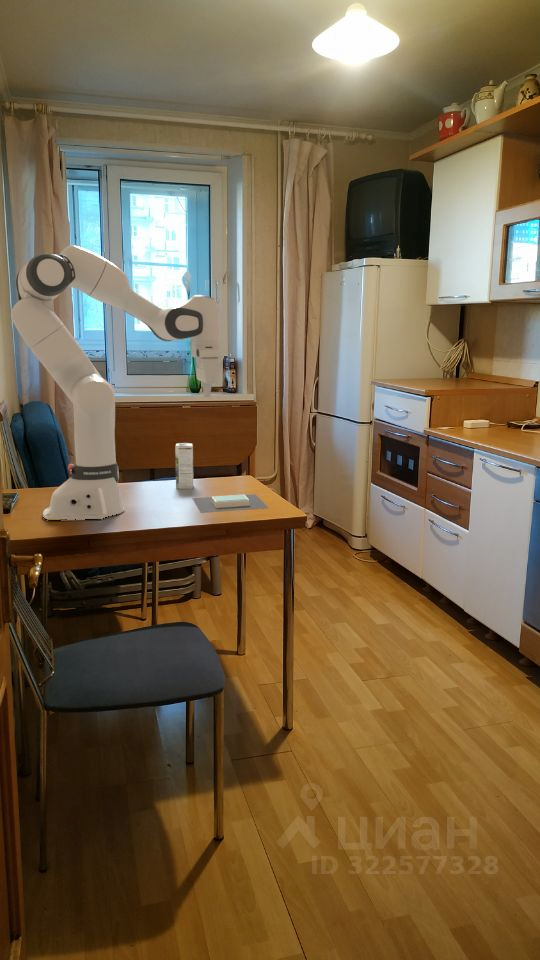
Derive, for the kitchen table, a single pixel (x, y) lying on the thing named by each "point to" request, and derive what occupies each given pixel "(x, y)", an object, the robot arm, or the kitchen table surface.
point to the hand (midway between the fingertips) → (207, 396)
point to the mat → (207, 506)
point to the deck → (230, 501)
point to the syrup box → (184, 465)
